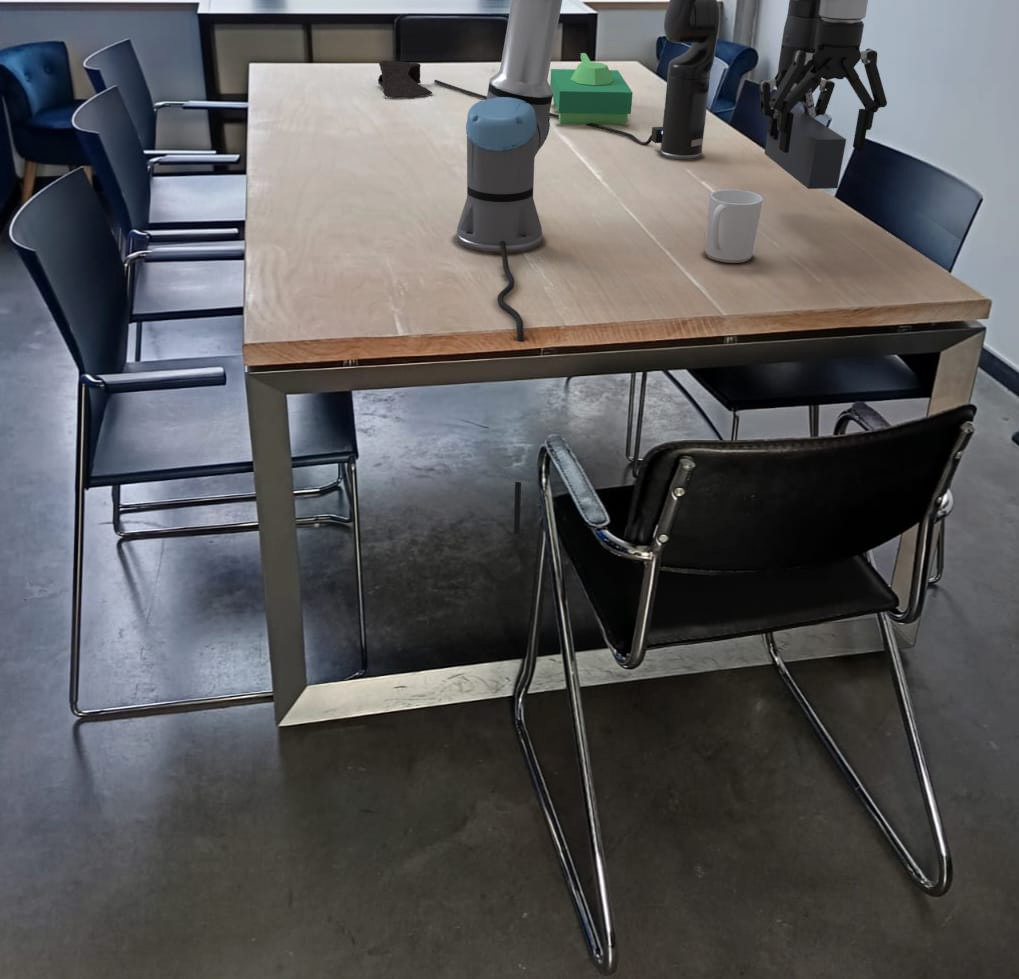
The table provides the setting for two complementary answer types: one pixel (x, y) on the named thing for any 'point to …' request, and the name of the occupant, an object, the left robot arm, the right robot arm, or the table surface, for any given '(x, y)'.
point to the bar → (810, 152)
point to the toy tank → (590, 94)
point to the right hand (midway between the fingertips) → (788, 137)
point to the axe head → (401, 79)
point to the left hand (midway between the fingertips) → (820, 150)
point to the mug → (732, 225)
